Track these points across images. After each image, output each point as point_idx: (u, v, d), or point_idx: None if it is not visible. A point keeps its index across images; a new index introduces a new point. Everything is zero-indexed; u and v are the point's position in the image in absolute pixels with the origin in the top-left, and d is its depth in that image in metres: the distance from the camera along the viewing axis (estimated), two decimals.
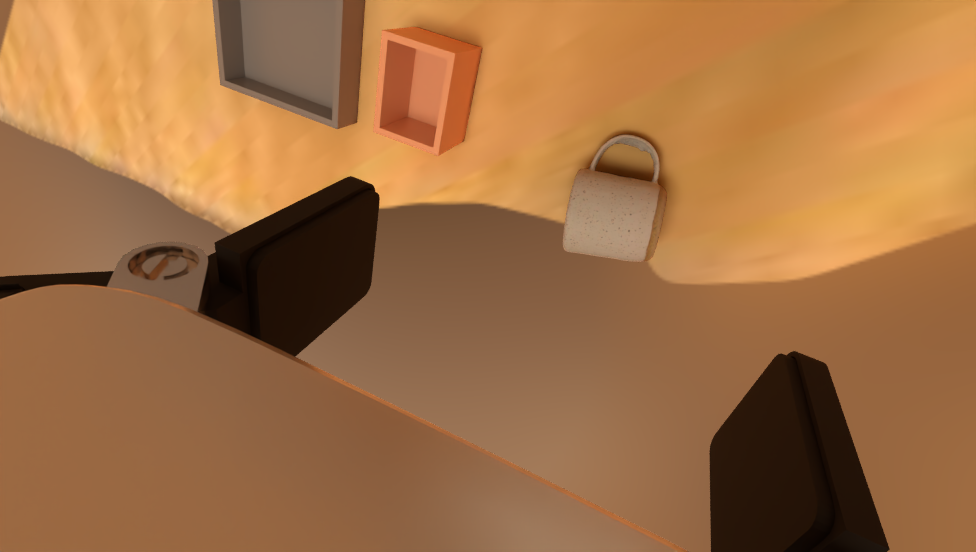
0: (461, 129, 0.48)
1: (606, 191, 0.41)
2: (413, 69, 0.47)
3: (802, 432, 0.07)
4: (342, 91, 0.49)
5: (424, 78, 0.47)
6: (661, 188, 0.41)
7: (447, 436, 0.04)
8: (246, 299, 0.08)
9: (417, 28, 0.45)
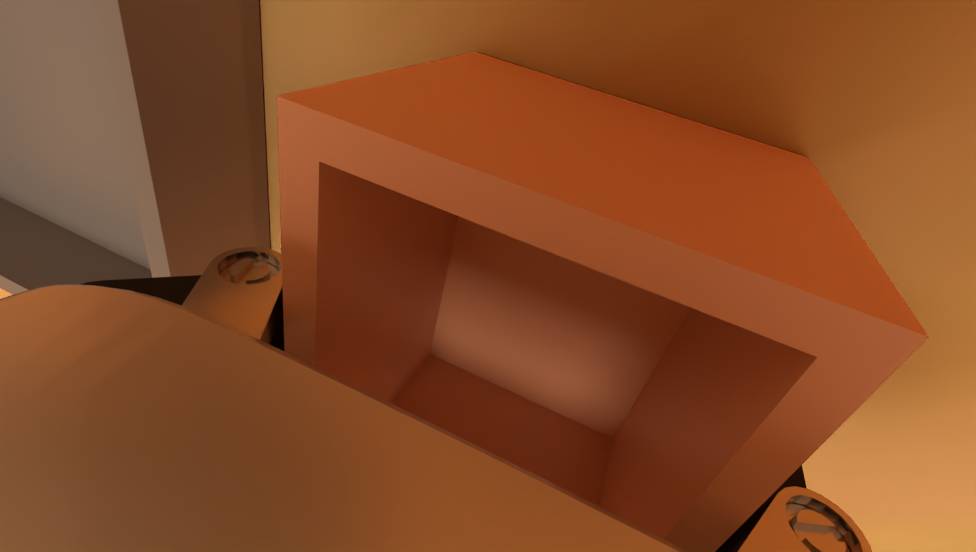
0: None
1: None
2: (457, 219, 0.12)
3: None
4: None
5: (501, 253, 0.12)
6: None
7: (447, 436, 0.04)
8: None
9: (484, 60, 0.10)
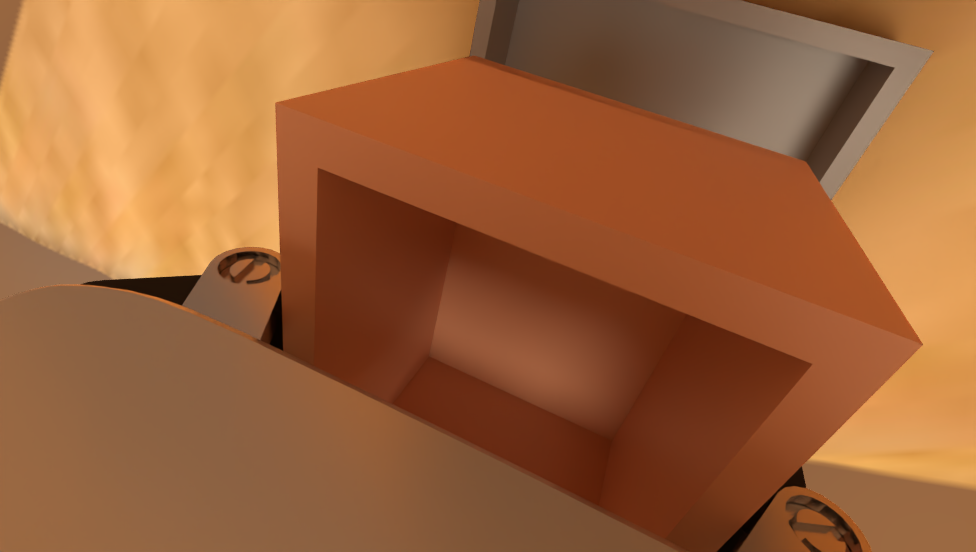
0: None
1: None
2: (456, 222, 0.12)
3: None
4: None
5: (500, 256, 0.12)
6: None
7: (446, 436, 0.04)
8: None
9: (483, 64, 0.10)
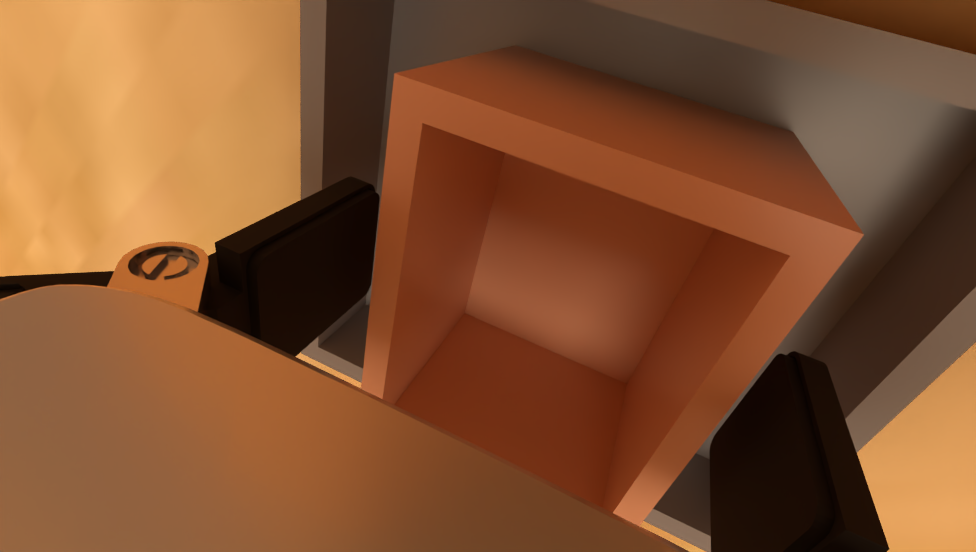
0: None
1: None
2: (496, 189, 0.14)
3: (802, 432, 0.07)
4: None
5: (533, 219, 0.14)
6: None
7: (447, 436, 0.04)
8: (246, 299, 0.08)
9: (525, 52, 0.12)
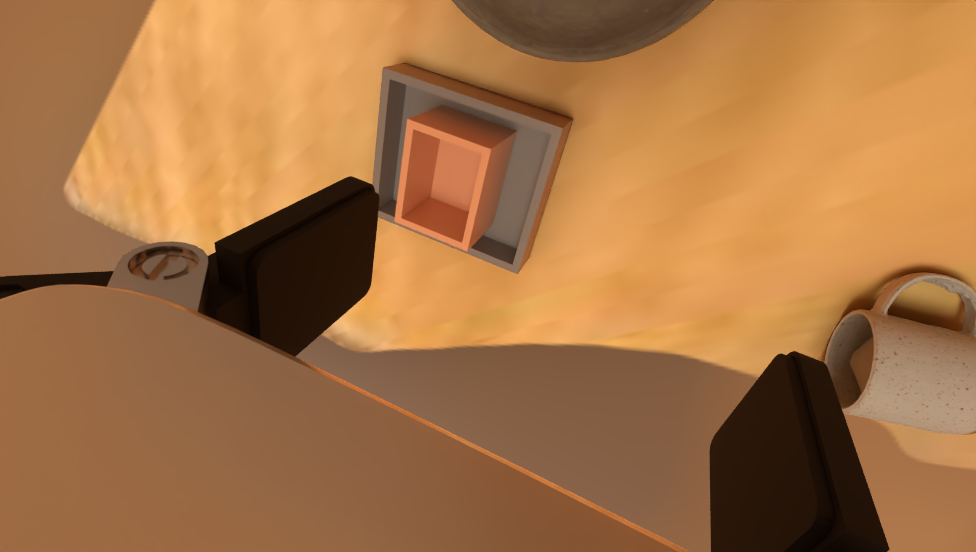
0: (491, 215, 0.43)
1: (926, 354, 0.31)
2: (438, 149, 0.42)
3: (802, 432, 0.07)
4: (530, 235, 0.41)
5: (450, 159, 0.43)
6: None
7: (447, 436, 0.04)
8: (246, 299, 0.08)
9: (444, 107, 0.41)
